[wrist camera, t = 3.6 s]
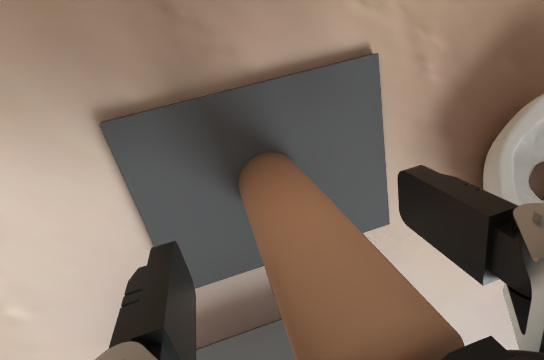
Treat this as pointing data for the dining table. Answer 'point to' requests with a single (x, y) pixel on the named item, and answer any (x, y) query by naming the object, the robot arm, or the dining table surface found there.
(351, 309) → the peg
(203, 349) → the block
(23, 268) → the dining table surface
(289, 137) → the mat
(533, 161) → the skull bowl
